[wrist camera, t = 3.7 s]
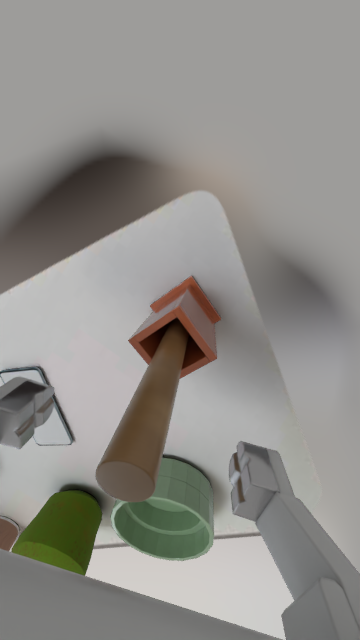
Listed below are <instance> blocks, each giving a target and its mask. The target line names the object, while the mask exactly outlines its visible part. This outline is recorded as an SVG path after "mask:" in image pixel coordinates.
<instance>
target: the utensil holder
mask: <svg viewBox="0 0 360 640" xmlns="http://www.w3.org/2000/svg"><path fill="white" fill-rule="evenodd" d="M150 307H151V308H152V310H153V312H152V313H151V314H150V316H149V317H148V318H147V319H146V320H145V321H144V323H143V324H142V325H141V326H140V327H139V328H138V329H137V331H136V332H135V333H134V334H133V335H132V336H131V338H130V339H129V340H128V341H129V342H130V343H131V345H132V346H133V347H134V348H135V349H136V351H137V352H138V353H139V354H140V355H141V357H142V358H143V359H144V360H145V361H146V363H147V364H148V365H149V364H150V362H151V360H152V358H153V356H154V354H155V352H156V350H157V348H158V346H159V344H160V342H161V340H162V338H163V336H164V334H165V332H166V330H167V328H168V326H169V324H170V322H171V321H172V320H174V319H175V318H176V317H177V318H178V319H179V320H180V322H181V323H182V324H183V326H184V327H185V328H186V330H187V331H188V332H189V337H188V342H187V346H186V351H185V356H184V360H183V365H182V369H181V374H180V378H182V377H184V376H186V375H188V374H190V373H191V372H193V371H195V370H197V369H199V368H201V367H202V366H204V365H206V364H208V363H210V362H212V361H214V360H215V359H217V349H216V337H215V325H214V324H215V323H216V322H218V321H219V320H221V317H220V315H219V314H218V313H217V311H216V310H215V308H214V307H213V305H212V304H211V302H210V301H209V300H208V298H207V297H206V295H205V294H204V292H203V291H202V290H201V288H200V287H199V285H198V284H197V282H196V281H195V279H194V278H193V277H192V276H190V277H189V278H187V279H186V280H184V281H183V282H182V283H180V284H179V285H177V286H176V287H175V288H173V289H172V290H170V291H169V292H168V293H166V294H165V295H164V296H162V297H161V298H159V299H158V300H157V301H155V302H154V303H152V304H151V305H150Z"/></svg>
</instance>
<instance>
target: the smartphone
mask: <svg viewBox="0 0 360 640" xmlns="http://www.w3.org/2000/svg"><path fill="white" fill-rule="evenodd" d="M18 376H21V377H24V378H27V379H31V380H34V381H37V382H40V383H43V384H46V385H47V383H46V381H45V379H44V377H43V375H42V372H41V370H40V369H39V368H37V367H31V368H21V369H11V370H2V371H1V372H0V377H1V378H2V380H3V382H4V384H5V383H7V382H8V381H10V380H11V379H13V378H14V377H18ZM51 397H52V399H53V400H54V398H53V396H51ZM33 438H34V440H35V442H36V443H37V444H38V445H71V444H72V443H73V440H72V438H71V435H70V433H69V431H68V429H67V427H66V425H65V422H64V420H63V418H62V416H61V414H60V412H59V409H58V407H57V405H56V403H55V401H54V408H53V412H52V413H51V415H50V417H49V418H48V420H47V421H46V422H45V423H44V424H43V425H41V426H39V427H37V428H35V433H34V435H33Z"/></svg>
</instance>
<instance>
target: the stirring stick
mask: <svg viewBox="0 0 360 640" xmlns="http://www.w3.org/2000/svg"><path fill="white" fill-rule="evenodd" d="M188 337H189V332H188V331H187V330H186V328H185V327H184V326H183V324H182V323H181V322H180V320H179V319H178V318H177V317H176V318H175V319H174V320H172V321H171V322H170V324H169V326H168V328H167V330H166V332H165V334H164V336H163V338H162V340H161V342H160V344H159V346H158V348H157V350H156V352H155V354H154V356H153V358H152V360H151V362H150V364H149V366H148V368H147V370H146V372H145V374H144V376H143V378H142V380H141V382H140V384H139V386H138V388H137V390H136V392H135V394H134V396H133V398H132V400H131V402H130V404H129V405H128V407H127V409H126V411H125V413H124V415H123V417H122V419H121V421H120V423H119V425H118V427H117V429H116V431H115V433H114V435H113V437H112V439H111V441H110V443H109V445H108V447H107V449H106V451H105V453H104V455H103V457H102V459H101V461H100V463H99V465H98V467H97V469H96V480H97V482H98V484H99V486H100V487H101V488H102V489H103V490H104V491H105V492H106V493H107V494H109V495H110V496H112V497H114V498H116V499H119V500H122V501H126V502H142V501H145V500H147V499H149V498H150V497H151V496H152V495H153V493H154V492H155V488H156V484H157V479H158V475H159V470H160V466H161V461H162V456H163V452H164V447H165V443H166V438H167V433H168V429H169V424H170V420H171V415H172V411H173V406H174V401H175V397H176V392H177V388H178V383H179V379H180V374H181V369H182V365H183V360H184V356H185V351H186V346H187V342H188Z"/></svg>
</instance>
